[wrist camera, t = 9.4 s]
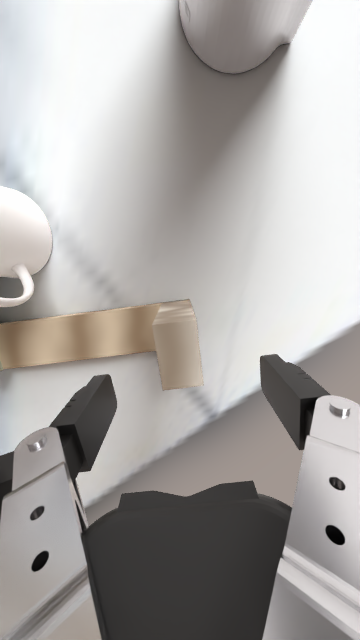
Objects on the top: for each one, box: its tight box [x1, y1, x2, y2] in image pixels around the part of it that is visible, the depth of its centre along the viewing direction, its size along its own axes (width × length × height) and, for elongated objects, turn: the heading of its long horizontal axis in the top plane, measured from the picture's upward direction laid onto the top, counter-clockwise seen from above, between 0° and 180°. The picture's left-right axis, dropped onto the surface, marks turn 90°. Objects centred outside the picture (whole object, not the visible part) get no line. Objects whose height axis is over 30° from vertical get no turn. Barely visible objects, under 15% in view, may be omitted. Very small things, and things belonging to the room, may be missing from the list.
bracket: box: [0, 299, 204, 390], centre depth 17 cm, size 23×19×9 cm
